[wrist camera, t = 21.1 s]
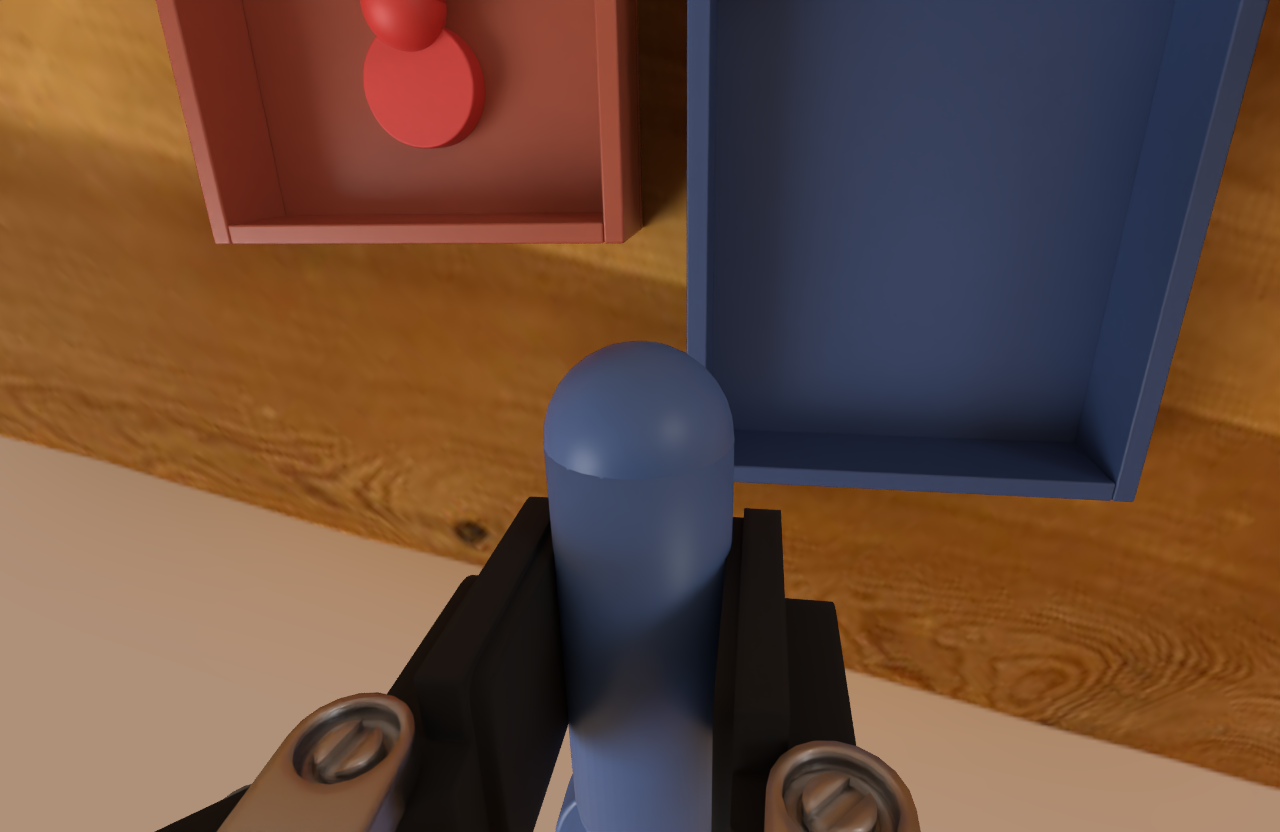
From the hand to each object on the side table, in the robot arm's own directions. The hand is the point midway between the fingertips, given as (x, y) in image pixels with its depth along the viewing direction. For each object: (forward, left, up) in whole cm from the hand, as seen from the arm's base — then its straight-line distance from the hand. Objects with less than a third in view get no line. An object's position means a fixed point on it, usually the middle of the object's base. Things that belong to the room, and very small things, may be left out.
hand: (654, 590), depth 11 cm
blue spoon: (0, -2, 0) cm, 2 cm away
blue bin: (+6, +4, -15) cm, 16 cm away
